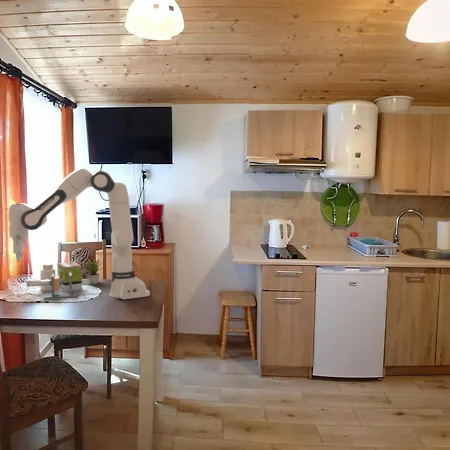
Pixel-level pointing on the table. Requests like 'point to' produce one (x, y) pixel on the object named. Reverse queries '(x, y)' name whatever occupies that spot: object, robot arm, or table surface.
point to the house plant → (93, 272)
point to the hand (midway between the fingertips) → (19, 259)
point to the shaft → (42, 283)
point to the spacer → (56, 283)
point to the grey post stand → (61, 294)
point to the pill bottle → (47, 275)
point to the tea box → (64, 274)
